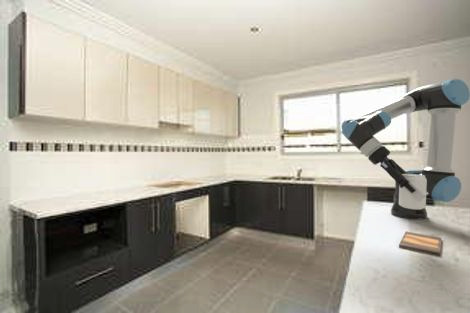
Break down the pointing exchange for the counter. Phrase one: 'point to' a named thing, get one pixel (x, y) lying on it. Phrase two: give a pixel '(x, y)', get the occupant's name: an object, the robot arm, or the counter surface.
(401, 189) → the beverage can
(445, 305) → the counter surface
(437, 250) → the label board
